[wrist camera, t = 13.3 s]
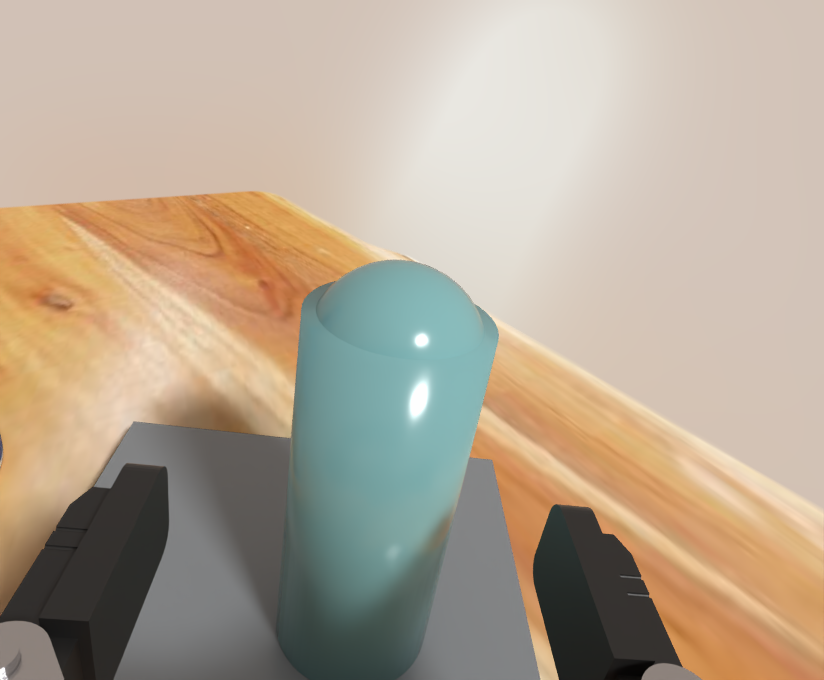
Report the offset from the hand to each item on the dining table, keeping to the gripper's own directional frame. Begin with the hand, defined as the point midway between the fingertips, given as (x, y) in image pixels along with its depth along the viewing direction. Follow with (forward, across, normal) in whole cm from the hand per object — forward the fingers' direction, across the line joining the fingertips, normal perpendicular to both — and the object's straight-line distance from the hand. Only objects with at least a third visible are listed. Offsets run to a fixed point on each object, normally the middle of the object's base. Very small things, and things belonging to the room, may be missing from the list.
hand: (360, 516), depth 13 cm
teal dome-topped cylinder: (+4, -1, +8) cm, 9 cm away
